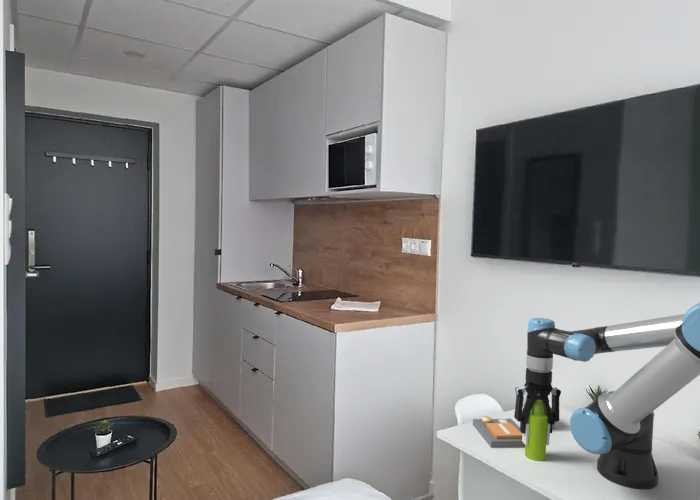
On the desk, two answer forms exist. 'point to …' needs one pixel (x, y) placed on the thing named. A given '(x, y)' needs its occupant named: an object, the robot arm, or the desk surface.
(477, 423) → the grey tray
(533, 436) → the soap dispenser
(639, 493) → the desk surface
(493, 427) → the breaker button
